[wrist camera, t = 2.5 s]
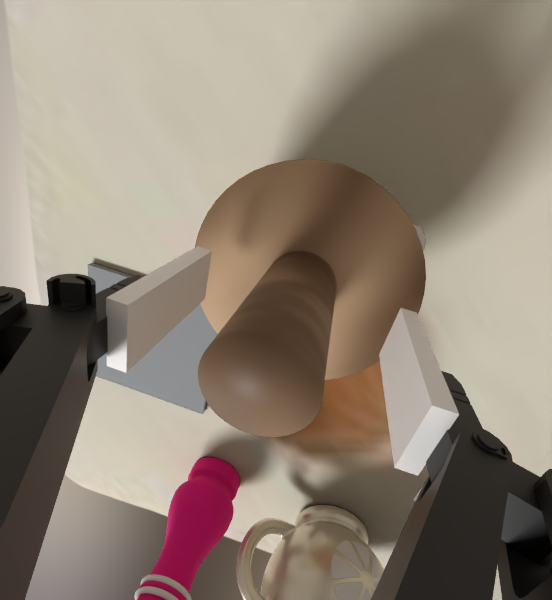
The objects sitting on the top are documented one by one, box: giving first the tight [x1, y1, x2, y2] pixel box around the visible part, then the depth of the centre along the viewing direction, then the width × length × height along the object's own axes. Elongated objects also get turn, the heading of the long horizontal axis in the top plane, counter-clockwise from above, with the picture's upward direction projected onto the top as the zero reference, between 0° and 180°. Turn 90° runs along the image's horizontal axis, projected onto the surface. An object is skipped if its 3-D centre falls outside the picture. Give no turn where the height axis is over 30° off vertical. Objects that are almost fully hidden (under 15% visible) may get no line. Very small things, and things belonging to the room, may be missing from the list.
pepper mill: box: [135, 457, 240, 600], centre depth 32 cm, size 7×7×20 cm
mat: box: [88, 263, 218, 414], centre depth 34 cm, size 14×14×1 cm
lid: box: [195, 159, 426, 437], centre depth 14 cm, size 13×13×10 cm
